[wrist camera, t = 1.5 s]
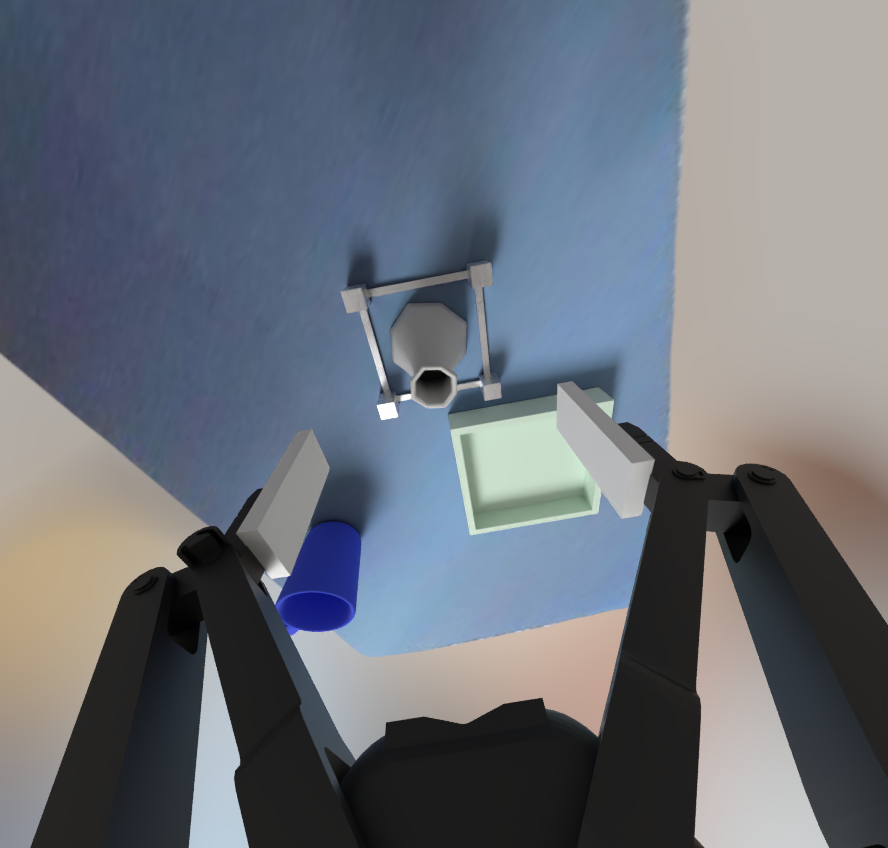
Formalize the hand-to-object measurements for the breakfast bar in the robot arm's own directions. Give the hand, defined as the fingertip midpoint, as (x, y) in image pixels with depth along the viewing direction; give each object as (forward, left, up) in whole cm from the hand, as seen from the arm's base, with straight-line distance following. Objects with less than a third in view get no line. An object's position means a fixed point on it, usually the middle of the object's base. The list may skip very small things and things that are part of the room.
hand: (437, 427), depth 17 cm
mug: (+24, -18, -15) cm, 34 cm away
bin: (+16, +9, -14) cm, 23 cm away
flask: (0, 0, -15) cm, 15 cm away
